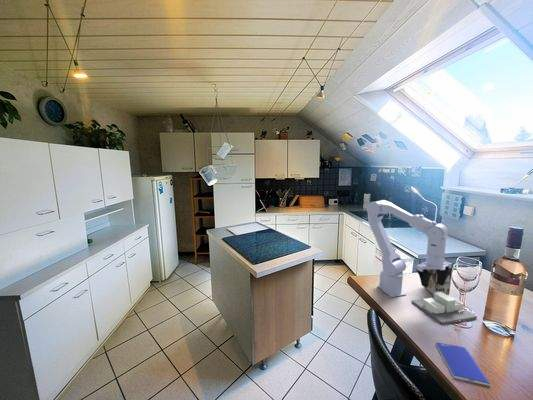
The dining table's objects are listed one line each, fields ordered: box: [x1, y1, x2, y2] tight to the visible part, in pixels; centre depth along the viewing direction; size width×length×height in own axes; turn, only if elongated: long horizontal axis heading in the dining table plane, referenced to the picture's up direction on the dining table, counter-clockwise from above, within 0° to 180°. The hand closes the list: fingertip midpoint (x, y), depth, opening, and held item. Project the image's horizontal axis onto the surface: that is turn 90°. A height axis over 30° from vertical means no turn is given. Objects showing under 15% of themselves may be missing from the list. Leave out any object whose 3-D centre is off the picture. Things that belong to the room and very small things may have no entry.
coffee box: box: [426, 257, 454, 296], centre depth 104 cm, size 9×6×16 cm
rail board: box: [411, 294, 478, 326], centre depth 92 cm, size 14×16×4 cm
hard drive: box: [435, 341, 491, 387], centre depth 68 cm, size 2×8×12 cm
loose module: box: [433, 292, 456, 313], centre depth 91 cm, size 6×4×5 cm, turn 11°
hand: (432, 285), depth 91 cm, fingers open, 7 cm apart
